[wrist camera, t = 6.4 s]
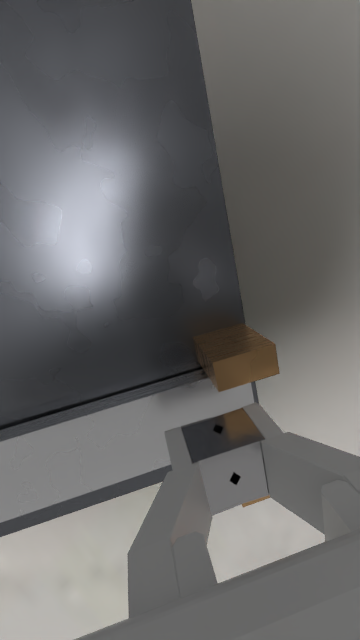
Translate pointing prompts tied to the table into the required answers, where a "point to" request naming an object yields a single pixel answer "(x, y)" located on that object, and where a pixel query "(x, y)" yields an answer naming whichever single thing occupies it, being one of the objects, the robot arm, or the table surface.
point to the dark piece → (111, 218)
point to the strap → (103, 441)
